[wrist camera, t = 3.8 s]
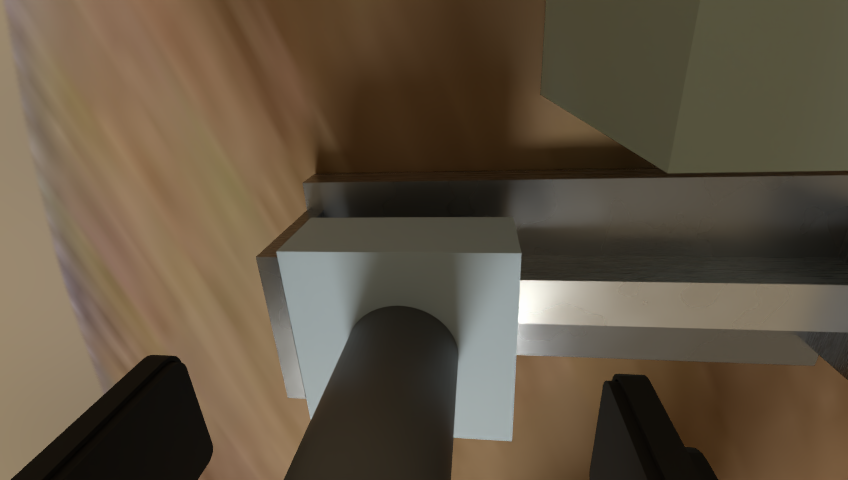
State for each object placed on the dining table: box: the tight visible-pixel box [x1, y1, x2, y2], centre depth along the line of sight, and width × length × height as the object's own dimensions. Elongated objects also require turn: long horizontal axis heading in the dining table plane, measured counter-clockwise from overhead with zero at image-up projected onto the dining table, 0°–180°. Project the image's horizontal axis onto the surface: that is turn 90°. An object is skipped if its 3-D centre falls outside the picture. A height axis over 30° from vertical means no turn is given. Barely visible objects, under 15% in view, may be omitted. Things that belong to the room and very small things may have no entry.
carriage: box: [276, 217, 522, 480], centre depth 10 cm, size 6×6×8 cm
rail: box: [256, 168, 848, 399], centre depth 14 cm, size 7×18×5 cm, turn 93°
